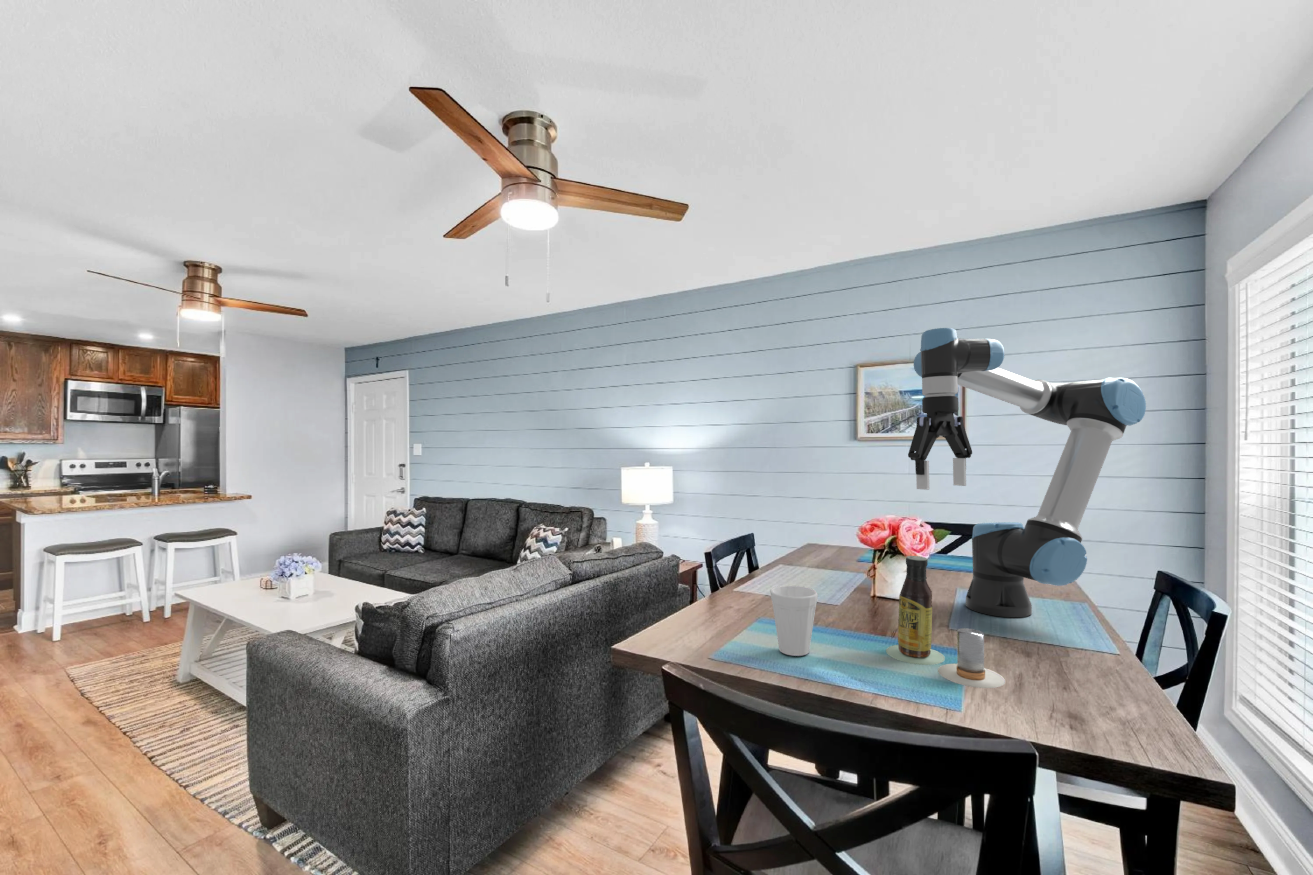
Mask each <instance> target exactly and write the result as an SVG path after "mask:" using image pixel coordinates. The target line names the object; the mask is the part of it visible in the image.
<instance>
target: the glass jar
mask: <svg viewBox="0 0 1313 875" xmlns="http://www.w3.org/2000/svg"><path fill="white" fill-rule="evenodd" d="M956 638H957V639H956V641H957V642H956V643H957V644H956V646H957V647H956V649H957V650H956V652H957V654H956V656H957V662H956V664H957V675H959V676H960V677H962V678H965V679H969V680H983V679H985V670H984V668H985V634H984V632H983V631H981V630H978V629H974V628H964V627H963V628H958V629H957V630H956Z"/></svg>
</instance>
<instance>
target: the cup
mask: <svg viewBox="0 0 1313 875" xmlns="http://www.w3.org/2000/svg"><path fill="white" fill-rule="evenodd" d="M769 592H770V593H769V594H770V600H771V603H772V610H773V617H774V623H775V630H776V636H777V643H778V649H779V652H781V653H782V654H785V655H787V656H793V657H794V656H795V657H796V656H797V657H801V656H805V655H808V654H809V653H810V648H811V643H812V634H813V628H814V621H815V613H816V608H817V603H818V598H819V596H818V595H819V593H818V592H817V590H816V589H813V588H810V587H806V586H801V585H800V586H799V585H778V586H774V587H772V588H771V589H770V590H769Z"/></svg>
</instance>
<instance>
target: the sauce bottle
mask: <svg viewBox="0 0 1313 875" xmlns="http://www.w3.org/2000/svg"><path fill="white" fill-rule="evenodd" d="M905 565H906V569H905V570H906V575H905V579H904V582H903V584H902V587H901V589H900V593H899V596H898V619H897V620H898V626H897V627H898V629H897V630H898V631H897V632H898V633H897V643H898V644H897V645H899V651H900V652H901V653H902V654H904V655H907V656H910V657H913V658H924V657H928V656H929V655H930V652H931V651H930V649H932V627H933V626H932V625H933V623H932V622H933V603H932V602H933V592H932V589H931V587H930V586H929V584H928V581H927V578H928V577H927V566H928V558H927V557H924V556H920V555H908V556H906V557H905Z"/></svg>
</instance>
